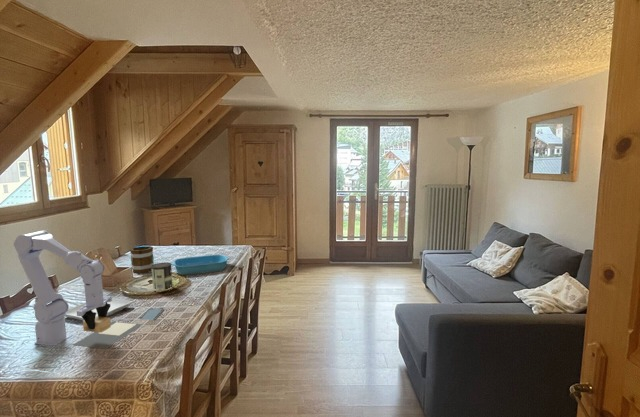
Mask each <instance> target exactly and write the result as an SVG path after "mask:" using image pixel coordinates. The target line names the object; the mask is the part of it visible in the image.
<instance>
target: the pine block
mask: <svg viewBox="0 0 640 417" xmlns="http://www.w3.org/2000/svg"><path fill="white" fill-rule="evenodd" d="M110 323H111V317H110V316H107V317H98V316H95V329H89V328H88V326H87V324H86V322H85V320H82V326H83V327H82V328H83V332H90V333H91V332H92V333H94V332H101V333H102V332H103V331H105V330H107V329H108V328H110V327H111V325H110Z"/></svg>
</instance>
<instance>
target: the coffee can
mask: <svg viewBox="0 0 640 417" xmlns="http://www.w3.org/2000/svg"><path fill="white" fill-rule="evenodd" d="M151 268H152V271H151V277H152V278H151V279H152V280H151V281H152V290H153V289H156V290H162V289H168V288H170V287H172V285H173V272H172V271H173V270H172V269H173V268H172V265H171V262H167V261H166V262H165V261H164V262H157V263H154V265H152V266H151Z"/></svg>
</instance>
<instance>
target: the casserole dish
mask: <svg viewBox="0 0 640 417" xmlns="http://www.w3.org/2000/svg"><path fill="white" fill-rule="evenodd" d="M228 260H230V257H229V256H228V255H224V254H209V255H199V256H189V257H181V258H176V259H174V260H173V261H171V262H170V263H171V266H174V268H175V270H176V272H177V273H178V274H179V275H181V274H183V275H182V276H189V275H196V274H198V275H199V274H206V273H212V272H219V271H220V272H221V271H223V270H224V269H225V268H226V266H227V263H228Z"/></svg>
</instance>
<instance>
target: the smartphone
mask: <svg viewBox="0 0 640 417" xmlns="http://www.w3.org/2000/svg"><path fill="white" fill-rule="evenodd" d="M164 310H165V308H164V307H160V308H156V307H155V308H148V309H147V310H146V312H144V313H143V314H142V316H140V317H139V320H146V321H156V320H157V318H158V317H159V316H160V315H161V314H162V313H163V312H164Z"/></svg>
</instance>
